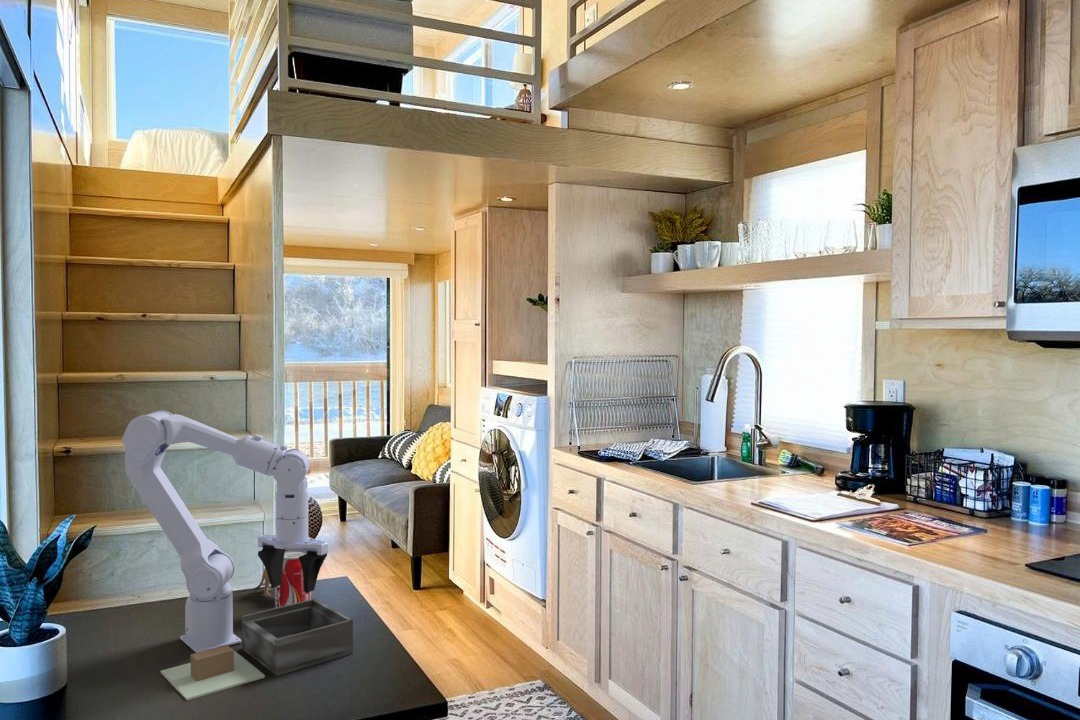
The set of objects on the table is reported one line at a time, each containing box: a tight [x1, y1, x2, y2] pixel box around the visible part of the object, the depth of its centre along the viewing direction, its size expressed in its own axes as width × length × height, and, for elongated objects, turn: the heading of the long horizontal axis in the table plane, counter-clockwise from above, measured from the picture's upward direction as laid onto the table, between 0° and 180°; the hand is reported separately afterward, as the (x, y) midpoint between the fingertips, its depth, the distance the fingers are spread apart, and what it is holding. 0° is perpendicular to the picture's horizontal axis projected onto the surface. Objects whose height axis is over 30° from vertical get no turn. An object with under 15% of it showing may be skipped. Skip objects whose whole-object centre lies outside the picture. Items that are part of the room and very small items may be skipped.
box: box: [241, 598, 354, 677], centre depth 142 cm, size 15×14×6 cm
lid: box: [160, 645, 266, 701], centre depth 132 cm, size 13×12×4 cm
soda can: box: [274, 550, 312, 608], centre depth 161 cm, size 7×7×12 cm
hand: (292, 588), depth 147 cm, fingers open, 7 cm apart
